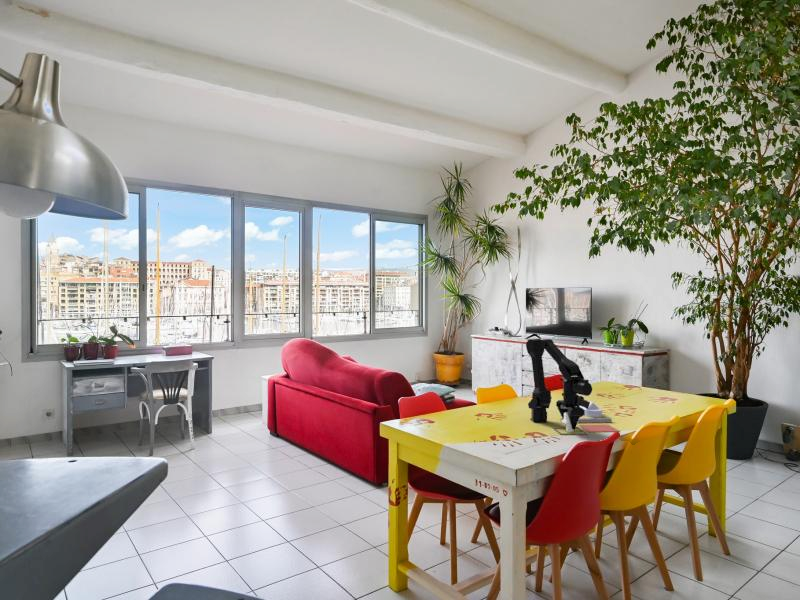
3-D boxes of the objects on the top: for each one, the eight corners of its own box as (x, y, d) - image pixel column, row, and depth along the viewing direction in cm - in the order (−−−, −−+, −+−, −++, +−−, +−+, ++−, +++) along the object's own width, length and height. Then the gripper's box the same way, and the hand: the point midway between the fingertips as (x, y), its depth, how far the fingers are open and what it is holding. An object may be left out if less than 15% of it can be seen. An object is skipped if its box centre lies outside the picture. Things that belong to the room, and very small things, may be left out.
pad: (589, 432, 233) (589, 431, 233) (578, 425, 245) (578, 424, 245) (620, 431, 233) (620, 431, 233) (607, 425, 245) (607, 424, 245)
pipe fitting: (571, 428, 238) (571, 411, 238) (580, 432, 231) (580, 414, 231) (559, 429, 237) (559, 412, 237) (567, 433, 230) (568, 415, 230)
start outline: (560, 434, 228) (560, 433, 228) (552, 428, 239) (552, 427, 239) (588, 434, 229) (588, 433, 229) (578, 427, 240) (578, 427, 240)
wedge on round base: (573, 413, 270) (594, 418, 258) (573, 400, 269) (594, 404, 258) (585, 411, 274) (606, 416, 263) (585, 398, 274) (606, 402, 263)
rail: (562, 422, 249) (562, 419, 249) (560, 421, 251) (560, 418, 251) (611, 422, 250) (611, 419, 250) (609, 421, 253) (609, 417, 253)
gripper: (596, 395, 225) (596, 432, 225) (579, 387, 244) (579, 421, 244) (571, 396, 224) (570, 432, 225) (555, 388, 243) (555, 421, 243)
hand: (569, 426), depth 234 cm, fingers open, 9 cm apart
